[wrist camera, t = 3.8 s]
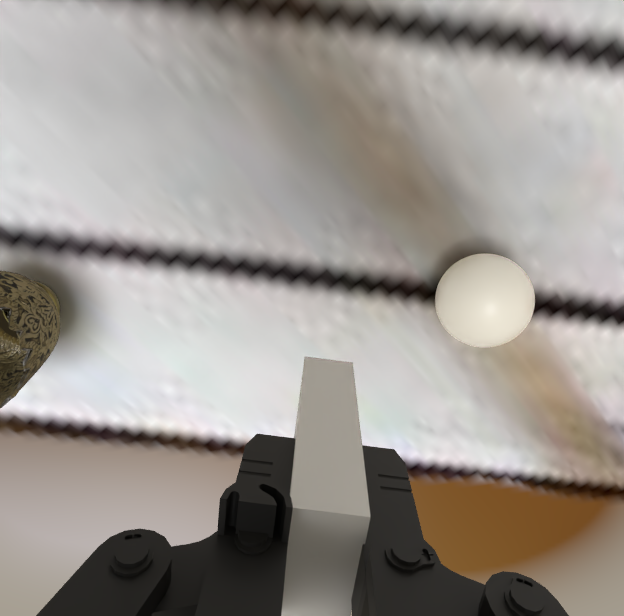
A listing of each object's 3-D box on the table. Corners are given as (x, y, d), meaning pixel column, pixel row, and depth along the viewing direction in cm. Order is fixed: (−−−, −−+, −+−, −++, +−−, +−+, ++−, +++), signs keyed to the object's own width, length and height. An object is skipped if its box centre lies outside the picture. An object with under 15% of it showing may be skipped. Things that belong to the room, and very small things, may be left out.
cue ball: (419, 321, 32) (437, 356, 27) (437, 239, 30) (460, 260, 25) (501, 332, 32) (535, 369, 27) (524, 250, 30) (565, 274, 25)
